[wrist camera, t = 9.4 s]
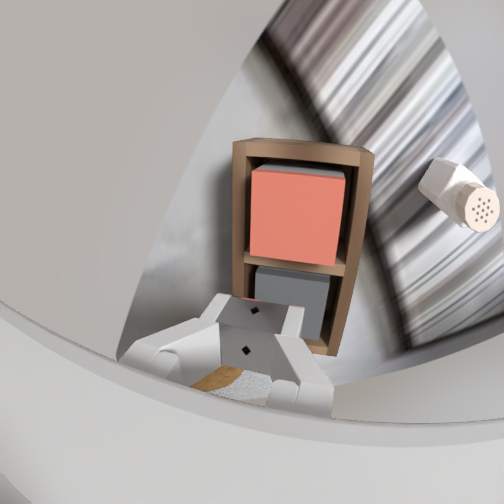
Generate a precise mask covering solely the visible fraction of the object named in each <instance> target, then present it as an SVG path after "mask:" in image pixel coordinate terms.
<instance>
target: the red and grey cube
mask: <svg viewBox="0 0 504 504" xmlns="http://www.w3.org/2000/svg"><path fill="white" fill-rule="evenodd" d="M344 190H345V177H344V173H343V169H342V168H341V167H333V166H324V165H315V164H305V163H294V162H282V161H269V162H267V163H265V164H263V165H262V166H260V167H258V168H256V169H255V170H253V171H252V188H251V229H250V255H253V256H260V257H268V258H275V259H282V260H290V261H297V262H305V263H312V264H320V265H327V266H334V264H335V258H336V251H337V244H338V238H339V230H340V223H341V215H342V207H343V199H344Z"/></svg>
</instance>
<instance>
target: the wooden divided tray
mask: <svg viewBox="0 0 504 504" xmlns="http://www.w3.org/2000/svg"><path fill="white" fill-rule="evenodd" d="M374 157H375V154H373V153H372V152H370V151H369V150H367V149H365V148H363V147H356V146H349V145H341V144H332V143H323V142H313V141H301V140H288V139H272V138H252V139H246V140H240V141H235V142H233V158H232V296H233V295H234V296H239V297H244V298H249V299H254V300H255V278H256V271H257V269H258V267H259V266H260V265H263V266H271V267H278V268H285V269H292V270H300V271H307V272H314V273H322V274H329V275H330V284H329V290H328V295H327V301H326V306H325V311H324V317H323V322H322V327H321V331H320V336H319V340H312V339H306V338H302V339H303V341H304V342H305V344H306V345H307V347H308V348H309V350H310V351H311V353H313V354H320V355H327V356H335V357H336V356H337V353H338V349H339V346H340V342H341V338H342V335H343V331H344V327H345V323H346V319H347V315H348V311H349V307H350V302H351V298H352V294H353V289H354V285H355V280H356V275H357V270H358V265H359V260H360V255H361V250H362V244H363V238H364V232H365V226H366V220H367V213H368V207H369V200H370V192H371V184H372V176H373V167H374ZM269 161H282V162H294V163H305V164H315V165H324V166H333V167H341V168H342V169H343V173H344V177H345V190H344V199H343V207H342V215H341V223H340V230H339V238H338V244H337V251H336V258H335V264H334V266H327V265H320V264H312V263H305V262H297V261H290V260H282V259H275V258H268V257H260V256H253V255H250V229H251V188H252V171H253V170H255V169H256V168H258V167H260V166H262V165H263V164H265V163H267V162H269Z"/></svg>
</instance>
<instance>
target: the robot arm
mask: <svg viewBox="0 0 504 504" xmlns="http://www.w3.org/2000/svg"><path fill="white" fill-rule="evenodd" d="M304 310H305V308H304V307H301V306H292V305H290V306H289V305H283V304H276V303H270V302H263V301H259V300H254V299H249V298H244V297H239V296H234V295H233V296H232V295H229V294H224V293H217V294H216V295H215V296H214V298H213V299H212V301H211V302H210V303H209V305H208V306H207V308H206V309H205V310H204V312H203V313H202V315H201V316H200V317H199V318H193V319H190V320H188V321H185V322H183V323H180V324H177V325H175V326H172V327H170V328H167V329H165V330H162V331H160V332H157V333H154V334H152V335H149V336H147V337H144V338H141V339H139V340H136V341H135V342H134V343H133V344H132V346H131V347H130V348H129V349H128V350H127V351H126V352H125V354H124V355H123V356H122V357H121V358H120V359H119V361H118V362H117V361H115V360H112V359H110V358H108V357H106V356H103V355H101V354H99V353H96V352H94V351H92V350H90V349H88V348H85V347H83V346H81V345H79V344H77V343H75V342H73V341H71V340H69V339H67V338H65V337H63V336H61V335H59V334H57V333H55V332H53V331H51V330H49V329H47V328H46V327H44V326H42V325H40V324H38V323H37V322H35V321H33V320H31V319H30V318H28V317H26V316H25V315H23V314H21V313H19V312H17V311H16V310H15V309H13V308H11V307H10V306H8V305H6V304H5V303H3V302H2V301H0V504H504V418H498V419H490V420H481V421H471V422H457V423H456V422H455V423H385V422H369V421H368V422H367V421H356V420H346V419H345V420H344V419H336V418H331V410H332V402H333V394H334V386H333V385H332V383H331V382H330V380H329V378H328V377H327V375H326V374H325V372H324V371H323V369H322V368H321V366H320V365H319V363H318V362H317V360H316V359H315V357H314V356H313V354H312V353H311V351H310V350H309V348H308V347H307V345H306V344H305V342H304V341H303V339H302V338H300V336H301V330H302V323H303V317H304ZM221 365H225V366H230V367H235V368H239V369H244V370H249V371H253V372H257V373H261V374H266V375H270V376H271V379H272V382H273V385H272V388H271V390H270V393H269V396H268V399H267V402H266V405H265V407H264V406H259V405H254V404H250V403H246V402H241V401H237V400H233V399H229V398H225V397H222V396H218V395H214V394H211V393H207V392H203V391H200V390H197V389H193V388H190V386H191V385H193V384H195V383H196V382H198V381H199V380H201V379H202V378H204V377H205V376H207V375H208V374H210V373H212V372H213V371H215V370H216V369H218V368H219V367H221Z"/></svg>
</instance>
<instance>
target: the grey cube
mask: <svg viewBox="0 0 504 504" xmlns="http://www.w3.org/2000/svg"><path fill="white" fill-rule="evenodd" d="M329 284H330V275H329V274H322V273H314V272H307V271H300V270H292V269H285V268H278V267H271V266H263V265H260V266H259V267H258V269H257V271H256V278H255V300H259V301H263V302H270V303H276V304H283V305H289V306H290V305H292V306H301V307H304V308H305V310H304V317H303V323H302V330H301V336H300V338H306V339H312V340H319V336H320V331H321V327H322V322H323V317H324V311H325V306H326V301H327V295H328V290H329Z"/></svg>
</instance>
